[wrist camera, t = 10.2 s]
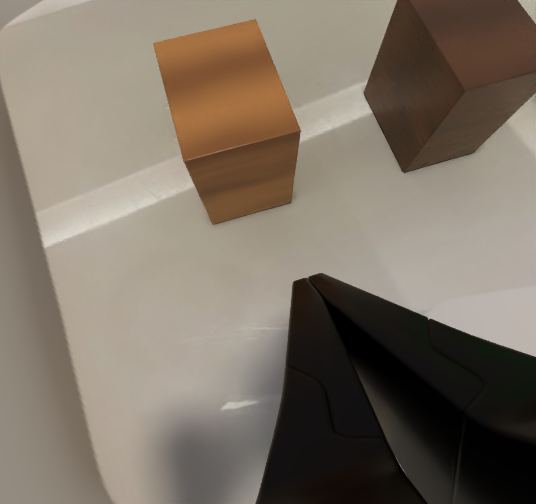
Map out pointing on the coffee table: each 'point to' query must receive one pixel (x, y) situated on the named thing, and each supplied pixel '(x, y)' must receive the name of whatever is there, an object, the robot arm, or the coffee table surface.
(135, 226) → the coffee table surface
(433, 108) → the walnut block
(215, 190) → the oak block
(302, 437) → the robot arm
